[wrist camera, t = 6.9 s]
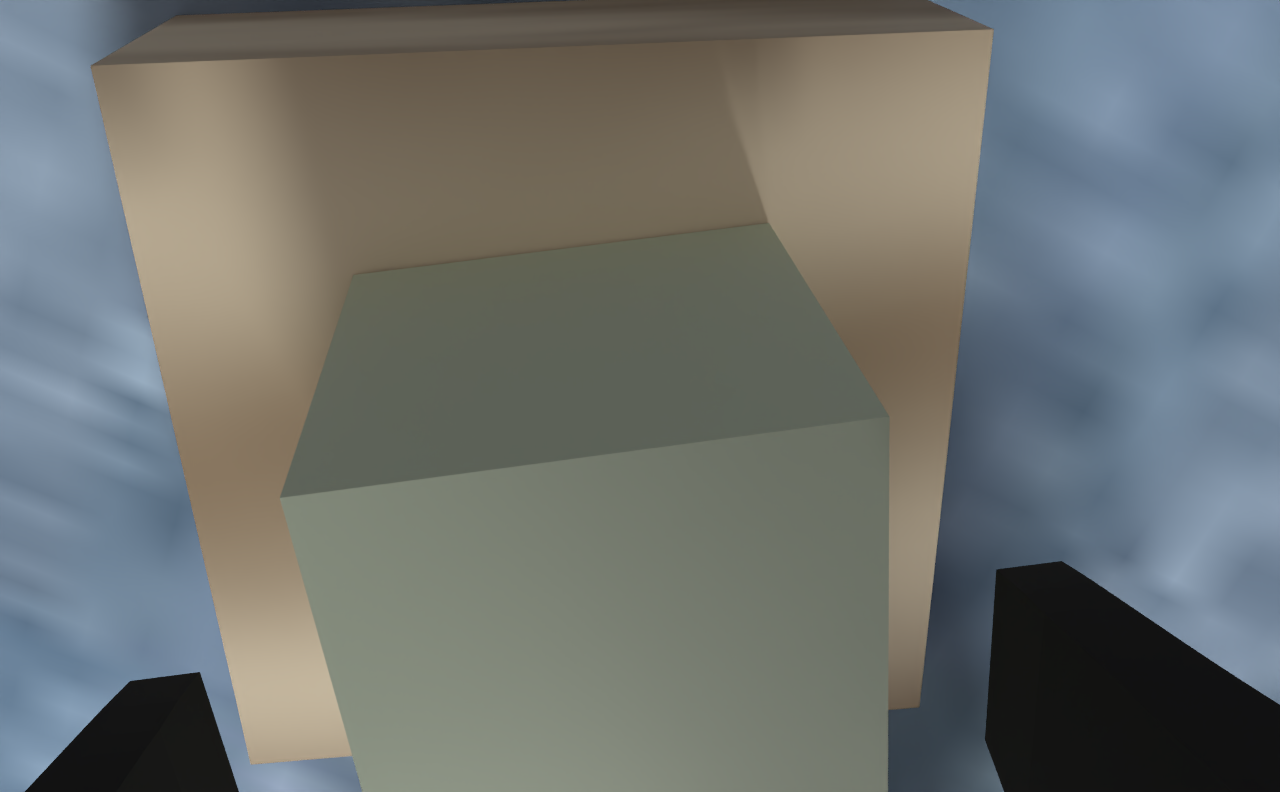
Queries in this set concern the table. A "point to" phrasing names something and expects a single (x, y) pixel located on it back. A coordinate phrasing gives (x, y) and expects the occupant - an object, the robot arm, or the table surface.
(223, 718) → the table surface
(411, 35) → the base block
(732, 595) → the sage cube
